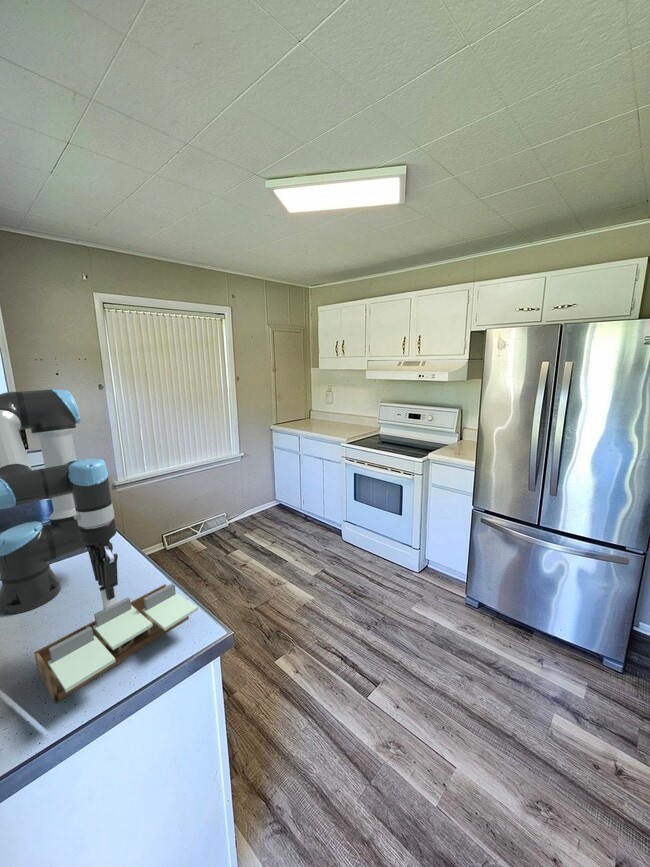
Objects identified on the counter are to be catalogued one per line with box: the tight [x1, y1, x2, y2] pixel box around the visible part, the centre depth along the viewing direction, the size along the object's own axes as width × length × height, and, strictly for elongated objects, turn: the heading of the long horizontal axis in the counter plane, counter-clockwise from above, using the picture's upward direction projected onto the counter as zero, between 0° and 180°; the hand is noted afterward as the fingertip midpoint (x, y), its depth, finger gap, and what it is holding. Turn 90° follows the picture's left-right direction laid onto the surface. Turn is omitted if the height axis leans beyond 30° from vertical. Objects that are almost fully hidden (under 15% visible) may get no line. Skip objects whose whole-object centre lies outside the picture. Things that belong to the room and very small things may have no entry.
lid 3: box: [142, 582, 199, 631], centre depth 92 cm, size 11×9×4 cm
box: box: [33, 584, 190, 704], centre depth 90 cm, size 12×31×7 cm, turn 142°
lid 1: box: [48, 627, 116, 692], centre depth 77 cm, size 11×9×4 cm
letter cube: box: [109, 638, 134, 653], centre depth 90 cm, size 4×4×4 cm
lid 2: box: [93, 597, 153, 650], centre depth 87 cm, size 11×9×4 cm
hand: (110, 608), depth 90 cm, fingers closed
